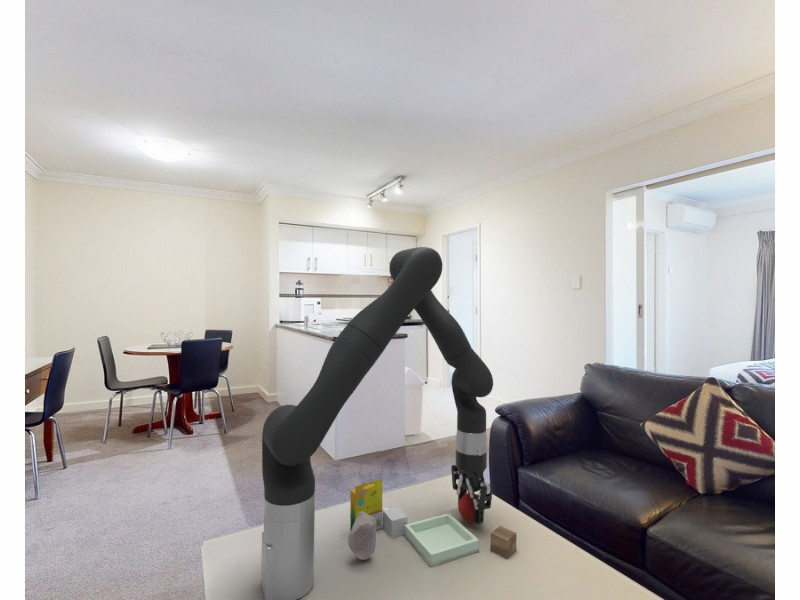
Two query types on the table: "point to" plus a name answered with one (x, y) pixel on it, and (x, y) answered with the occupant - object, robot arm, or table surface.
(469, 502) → the onion
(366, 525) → the fossil
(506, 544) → the walnut block
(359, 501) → the crayon box
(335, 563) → the table surface
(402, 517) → the grey block
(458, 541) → the dish
